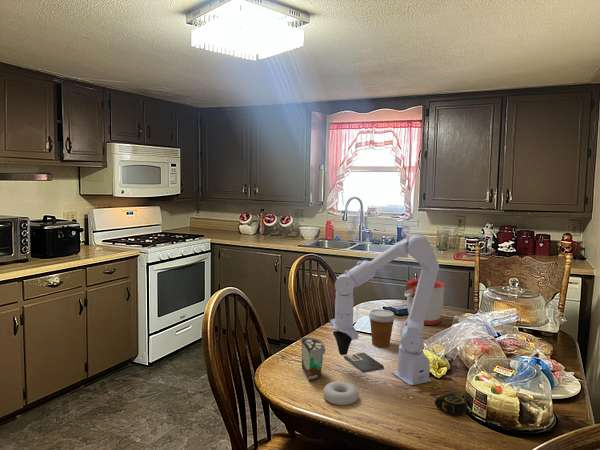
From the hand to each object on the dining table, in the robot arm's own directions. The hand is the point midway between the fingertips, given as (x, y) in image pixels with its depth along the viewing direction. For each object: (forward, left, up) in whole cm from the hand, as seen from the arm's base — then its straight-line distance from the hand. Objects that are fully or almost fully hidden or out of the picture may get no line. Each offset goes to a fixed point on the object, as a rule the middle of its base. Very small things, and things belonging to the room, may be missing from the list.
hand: (343, 354), depth 143 cm
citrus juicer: (+30, -56, -5) cm, 64 cm away
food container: (+1, +10, -5) cm, 11 cm away
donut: (-16, +10, -6) cm, 19 cm away
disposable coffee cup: (+14, -24, -5) cm, 28 cm away
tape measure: (-33, -14, -6) cm, 36 cm away
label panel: (+2, -9, -5) cm, 11 cm away
